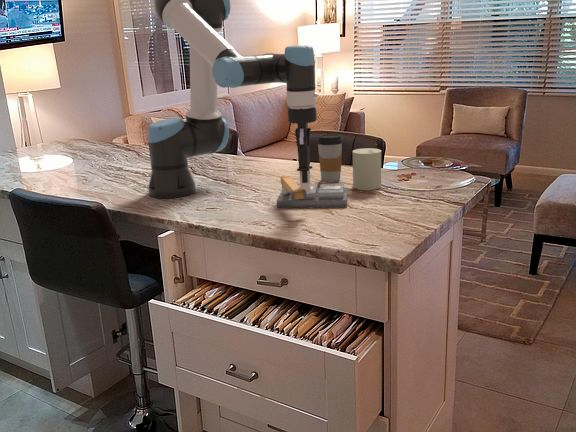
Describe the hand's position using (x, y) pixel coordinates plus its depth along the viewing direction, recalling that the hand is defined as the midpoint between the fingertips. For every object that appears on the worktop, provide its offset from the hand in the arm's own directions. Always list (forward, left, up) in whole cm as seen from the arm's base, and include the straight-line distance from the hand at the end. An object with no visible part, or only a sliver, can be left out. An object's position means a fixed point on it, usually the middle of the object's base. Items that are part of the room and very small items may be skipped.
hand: (305, 193), depth 162 cm
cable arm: (-4, +4, 0) cm, 6 cm away
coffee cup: (+5, +37, -6) cm, 38 cm away
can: (+17, +28, -6) cm, 34 cm away
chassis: (+1, +12, -6) cm, 14 cm away
